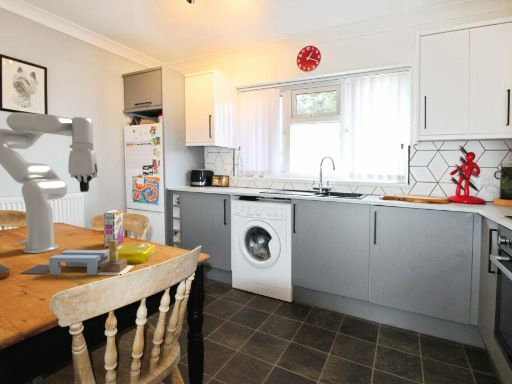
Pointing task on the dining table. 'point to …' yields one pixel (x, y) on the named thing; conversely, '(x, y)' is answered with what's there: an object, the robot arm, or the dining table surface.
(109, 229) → the candy bar box
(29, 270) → the pad
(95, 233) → the dining table surface
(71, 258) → the tunnel
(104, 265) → the tan boxy piece
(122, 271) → the tile
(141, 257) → the element tile
